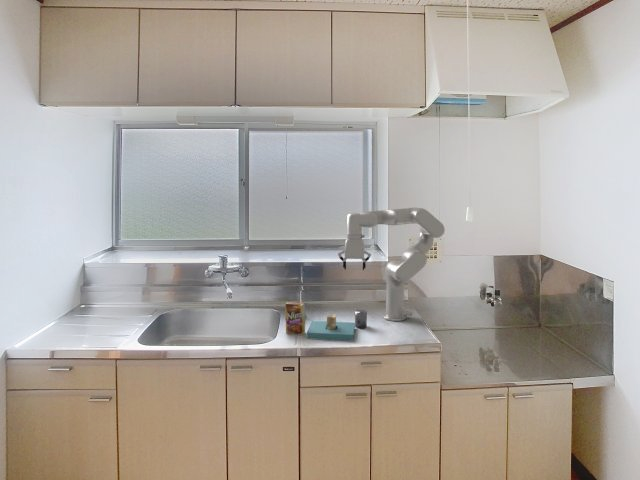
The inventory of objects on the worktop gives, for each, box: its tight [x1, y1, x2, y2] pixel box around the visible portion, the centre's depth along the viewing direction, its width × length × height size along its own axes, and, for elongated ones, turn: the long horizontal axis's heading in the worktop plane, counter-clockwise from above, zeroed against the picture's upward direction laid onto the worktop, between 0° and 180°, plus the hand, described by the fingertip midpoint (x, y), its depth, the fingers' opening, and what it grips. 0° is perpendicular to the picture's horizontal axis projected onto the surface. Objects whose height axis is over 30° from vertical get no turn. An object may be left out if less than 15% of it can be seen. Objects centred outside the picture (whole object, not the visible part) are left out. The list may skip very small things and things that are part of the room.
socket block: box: [306, 320, 356, 342], centre depth 187 cm, size 22×16×3 cm
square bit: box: [326, 313, 337, 330], centre depth 186 cm, size 4×4×9 cm
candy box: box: [285, 301, 306, 336], centre depth 187 cm, size 9×4×15 cm, turn 73°
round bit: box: [354, 309, 368, 330], centre depth 196 cm, size 6×6×8 cm
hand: (354, 269), depth 200 cm, fingers open, 9 cm apart
